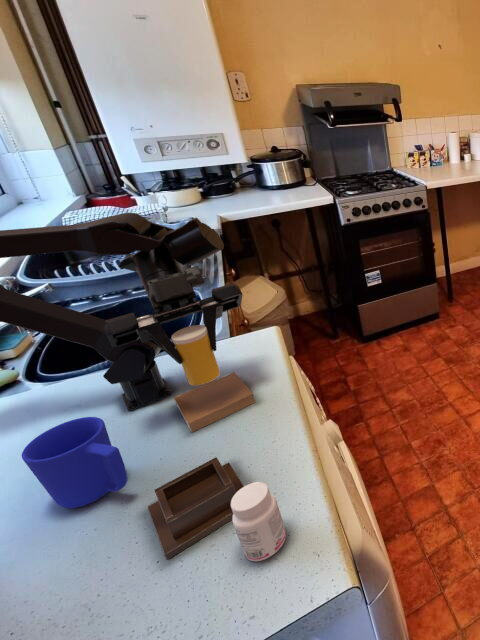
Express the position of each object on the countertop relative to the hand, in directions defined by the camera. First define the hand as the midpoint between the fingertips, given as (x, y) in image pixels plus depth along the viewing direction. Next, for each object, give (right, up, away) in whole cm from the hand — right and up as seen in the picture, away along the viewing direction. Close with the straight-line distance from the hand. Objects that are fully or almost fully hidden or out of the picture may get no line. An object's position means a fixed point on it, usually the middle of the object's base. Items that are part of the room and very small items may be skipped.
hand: (198, 356), depth 73 cm
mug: (-7, -18, -10) cm, 21 cm away
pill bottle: (+21, -20, -17) cm, 34 cm away
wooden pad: (-2, -11, +7) cm, 13 cm away
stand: (+10, -18, -13) cm, 24 cm away
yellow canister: (-1, -4, +3) cm, 5 cm away
